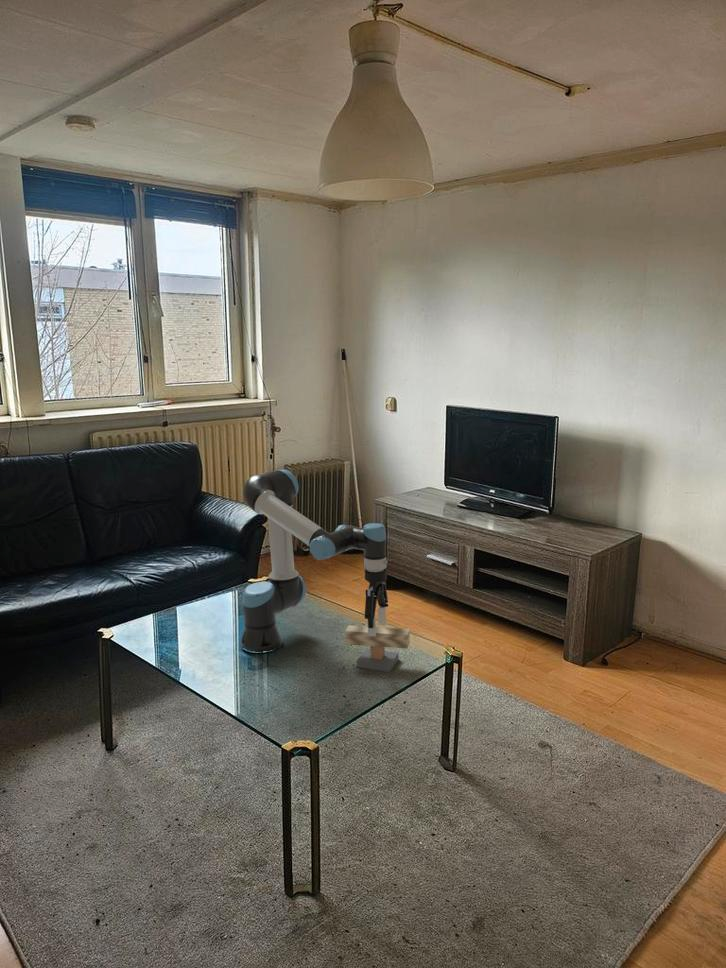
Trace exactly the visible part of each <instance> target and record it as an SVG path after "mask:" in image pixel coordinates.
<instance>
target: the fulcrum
mask: <svg viewBox="0 0 726 968" xmlns="http://www.w3.org/2000/svg"><path fill="white" fill-rule="evenodd" d="M385 648H386V647H376V646H369V648H366V649H365V650H364V651H363V652H362V654H361V655H360V656H359V657H358V658H357V659H356V668H362V669H365V670H366V669H367V670H373V671H380V672H385V673H386V672H387V673H390V672H391V670H392V669H393V668H394V667H395V665H396V664H397V663H398V661H399V652H395V651H394V652H393V651H388V650H387V651H386V649H385Z"/></svg>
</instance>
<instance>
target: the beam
mask: <svg viewBox="0 0 726 968" xmlns="http://www.w3.org/2000/svg"><path fill="white" fill-rule="evenodd" d="M410 634H411V633H410V628H398V627H396V628H394V627H385V626H384V627H381V626H376V637H374V636H368V625H367V626H365V625H349V624H348V625H347V626H346V628H345V630H344V644H345V645H351V646H361V647H362V646H363V647H364V646H365V647H370V646H376V647H385V648H394V649H406V650H408V648H409V646H410V644H411V643H410V642H411V641H410V637H411V636H410Z"/></svg>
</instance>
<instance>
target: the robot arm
mask: <svg viewBox="0 0 726 968" xmlns="http://www.w3.org/2000/svg"><path fill="white" fill-rule="evenodd" d="M299 489H300V487H299V482H298V480H297V478H296V475H294V474H293V473H292V472H291V471H289V470H288V469H284V468H283V469H274V470H271V471H266V472H264V473H259V474H255V475H252V476H250V477H249V478H248V479H246V481H245V483H244V485H243V488H242V497H243V500H244V502H245V503H246V505H247V506H248V507H249V508H250V509H251V510H252V511H253V512H254V513H256V514H258V515H263V516H266V517H267V522H268V536H269V547H270V561H271V572H270V573H268V581H259V582H253V583H251V584H249V585H248V586H246V587H245V588H244V590H243V591H242V592H243V593H242V605H243V619H244V620H243V621H244V628H243V629H244V630H243V632H242V636H241V640H240V646H241V645H242V647H243V648H245V649H247V650H250V651H255V652H263V651H270V650H274V649H277V648H278V647H279V648H281V646H282V637H281V633H280V632H279V631H280V630H279V628H278V626H277V619H276V615H277V614H279V613H281V612H282V613H283V612H284V611H286V610H288V609H291V608H294V607H296V606H297V605H298V604H300V603H302V602H303V601H304V599H305V597H306V595H307V585H306V583H305V581H304V578H303V577H302V576H301V575H300V573H299V572H298V571H297V570H296V569H295V560H294V546H293V536H294V537H295V538H297V539H298V540H299V541H301V542H303V543H304V544H305V545H307V546H308V547H309V552H310V554H312V557H313V559H315V560H317V561H321V560H323V561H324V560H328V559H330V558H332V557H334V556H336V555H339V554H342V553H345V552H346V551H349V550H352V549H353V550H354V549H356V550H360V551H363V554H364V555H363V556H364V559H363V563H364V564H363V565H364V580H365V582H368V583H369V586H368V589H365V604H364V605H365V606H364V619H366V620H367V626H368V636H374V637H376V627H377V625H378V626H384V627H385V626H387V618H386V617H387V614H386V612H387V610H386V608H388V607H389V604H388V603H389V599H388V592H387V579H388V578H387V577H388V574H387V572H388V571H387V563H388V560H387V531H386V527H385V525H384V524H382V523H377V522H375V523H374V522H373V523H372V522H370V523H366V524H365V525H364V526H363V527H360V526H359V527H358V526H353V525H350V524H340V525H338V526H337V528H336V529H335V530H334V531H333V532H329V531H327V530H325V529H324V528H323V527H321V526H319V524H317V523H315V522H314V521H312V520H311V519H310V518H308V517H306V516H305V515H303V514H302V513H300V512H299V511H297V510H296V509H294V508H293V506H294V498H295V497H296V496H297V494H298V493H299ZM377 605H378V606H377ZM376 608H377V609H376ZM376 611H377V618H376V617H375V616H376ZM376 619H377V621H376ZM376 622H377V623H376ZM279 648H278V649H279ZM278 649H277V650H278ZM274 651H275V650H274Z"/></svg>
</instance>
